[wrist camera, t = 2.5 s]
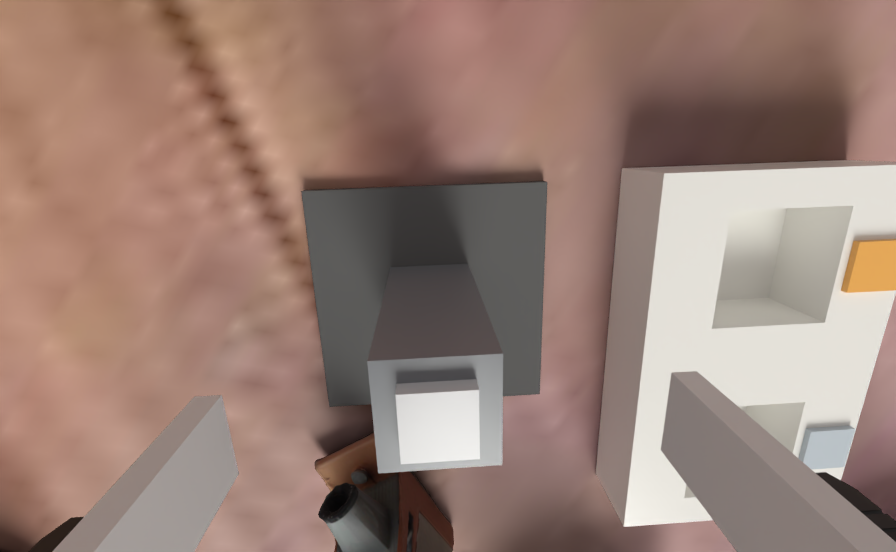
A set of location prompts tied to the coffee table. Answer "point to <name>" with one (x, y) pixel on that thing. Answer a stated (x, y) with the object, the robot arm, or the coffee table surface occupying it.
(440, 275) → the plug
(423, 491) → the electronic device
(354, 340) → the mat
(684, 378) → the robot arm
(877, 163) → the socket block
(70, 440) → the coffee table surface
